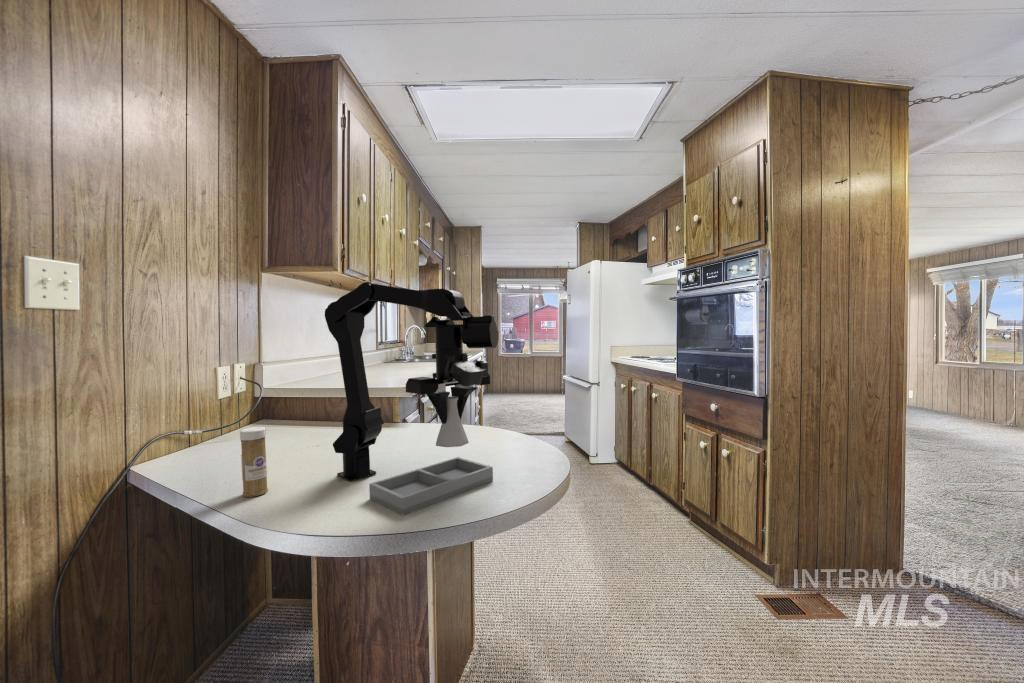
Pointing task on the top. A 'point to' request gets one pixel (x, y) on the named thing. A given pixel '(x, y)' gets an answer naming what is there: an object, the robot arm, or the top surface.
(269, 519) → the top surface
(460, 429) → the flask
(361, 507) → the top surface
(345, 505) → the top surface
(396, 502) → the tray
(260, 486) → the sprinkles bottle
